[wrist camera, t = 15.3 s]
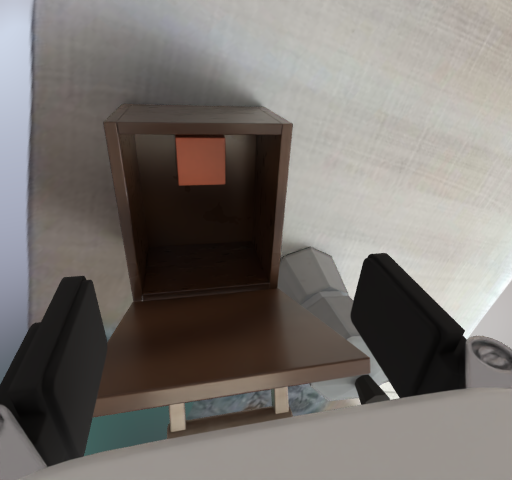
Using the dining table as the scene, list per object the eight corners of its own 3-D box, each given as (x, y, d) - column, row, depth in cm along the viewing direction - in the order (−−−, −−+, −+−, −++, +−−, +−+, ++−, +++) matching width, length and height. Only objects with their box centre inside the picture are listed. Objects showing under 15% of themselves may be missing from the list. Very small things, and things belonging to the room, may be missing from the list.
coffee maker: (360, 265, 43) (463, 383, 28) (322, 315, 46) (396, 446, 31) (263, 223, 37) (326, 343, 22) (227, 283, 40) (260, 426, 25)
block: (178, 171, 31) (178, 185, 28) (174, 127, 30) (175, 137, 26) (220, 170, 32) (225, 184, 29) (220, 128, 30) (225, 137, 27)
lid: (68, 401, 13) (79, 515, 13) (371, 357, 15) (373, 453, 15) (132, 301, 28) (136, 355, 28) (278, 288, 30) (280, 337, 30)
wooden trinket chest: (121, 103, 28) (102, 121, 21) (264, 106, 31) (293, 123, 24) (142, 250, 36) (133, 302, 28) (257, 242, 38) (277, 289, 31)
